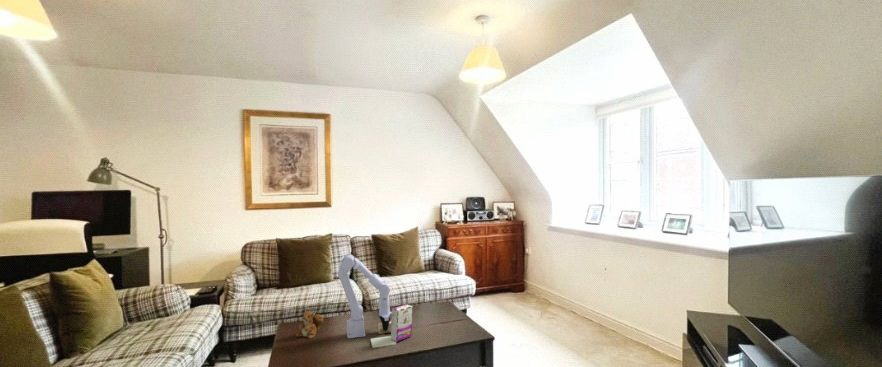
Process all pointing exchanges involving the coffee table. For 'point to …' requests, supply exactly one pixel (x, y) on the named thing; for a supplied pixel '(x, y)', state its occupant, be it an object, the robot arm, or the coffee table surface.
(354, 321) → the robot arm
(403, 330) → the candy bar box
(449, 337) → the coffee table surface
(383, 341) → the board
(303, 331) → the stuffed squirrel
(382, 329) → the wooden t-shaped block
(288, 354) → the coffee table surface
